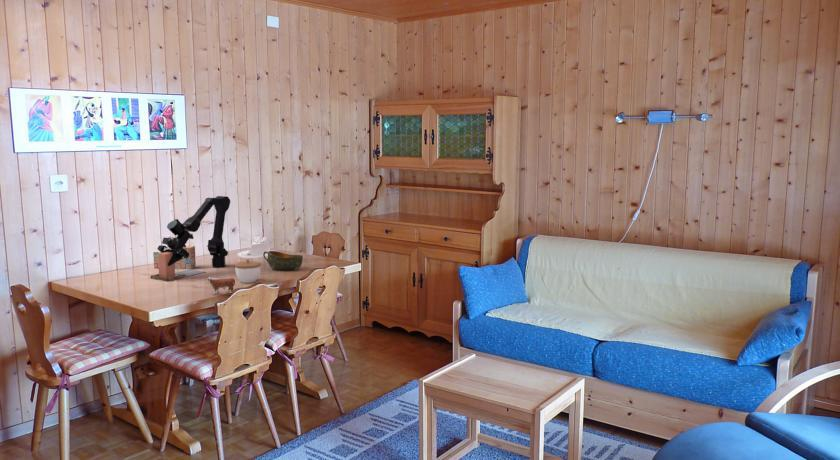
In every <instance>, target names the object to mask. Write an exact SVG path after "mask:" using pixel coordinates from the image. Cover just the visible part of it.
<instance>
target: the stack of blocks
mask: <svg viewBox="0 0 840 460" xmlns="http://www.w3.org/2000/svg"><path fill="white" fill-rule="evenodd" d="M185 245H186V244H185ZM183 248H184V249H185V250H186V251H187V252H188V253H189V257H188V258H183V257H182V258H183V259H181V260H179V261H177V262H175V270H190V269H192V268H193V269H195V268H196V267H197V266H196V246H195V245H186V247H183ZM152 253H153V254H152V255H153V267H154V269H159V265H158V253H161V252H160V251H159V250H158V249H157V250H156V251H152ZM194 267H195V268H194ZM193 269H192V270H193Z"/></svg>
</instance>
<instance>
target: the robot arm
mask: <svg viewBox="0 0 840 460" xmlns="http://www.w3.org/2000/svg"><path fill="white" fill-rule="evenodd" d="M230 204H231V199H230V197H228V196H223V195H217V196H216V197H206V198H205V200H204V201H203V203H202V204H201V205H200V206H199V207H198V209H197V210H196V212H194V214H193V215H192V216H190V217H188V218H186V220H184V222H183V223H181V222H180V220H179V219H178V218H174V220H172V221H170V222H168V224H167V225H166V229H168V231H170V232H171V233H172V235H174V236H176V237H171V238H170V237H163V238H162V240H161V244H162V245H158V246H157V251H158V250H159V251H160V252H161V253H164V252H171V253H173V255H172V257H171V259H170V261H169V263H168V266H170V265H172V264H174V263H175V262H177V261H179V260H181V259H183V258H188V257H189V253H188V252H187V251H186V250H185V249H184V248H183V247H186V244H187V243H188V241H189V239H190V240H194V234H193V233H195V232H197V231H198V230H199V228H200V227H201V225H202V223H201V222H202V221H203V219H204V218H205V217H206V215H208V213H209V211H211V209H212V208H213V207H214V210H215V220H214V226H213V234H212V238H211V239H208V240H207V246H206V247H207V250H208V252H209V255H210V256H212V258H211V265H212V268H225V267H226V266H227V264H226V257H227V256H228V255H229V251H228V250H227V249H226V248H225V242H224V240H223V234H224V224H225V220H226V219H225V218H226V213H227V211H228V210H229V208H230ZM191 232H192V233H191ZM182 257H183V258H182Z"/></svg>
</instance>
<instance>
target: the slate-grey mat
mask: <svg viewBox="0 0 840 460" xmlns="http://www.w3.org/2000/svg"><path fill="white" fill-rule="evenodd" d="M205 273H206V271H205V270H204V271H203V270H197V269H184V270H182V271H177V272H176V271H175V276H179V275H183V274H185V277H192V275H193V276H196V275H201V274H205Z"/></svg>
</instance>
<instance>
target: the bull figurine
mask: <svg viewBox="0 0 840 460" xmlns="http://www.w3.org/2000/svg"><path fill="white" fill-rule="evenodd" d="M205 283H206V284H209V285H210V287H211V288H212V289H213V293H212V296H215V295H217V294H219V293H220V291H219V290H220V289H223V290H225V289H226V288H227V287H228V288H227V291H226V292H225V293H226V294H228V293H232V292H233V293H234V286H235V285H236V280H235V278H216V277H213V276H208V278H207V279H206V280H205ZM233 293H232V294H233Z"/></svg>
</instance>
